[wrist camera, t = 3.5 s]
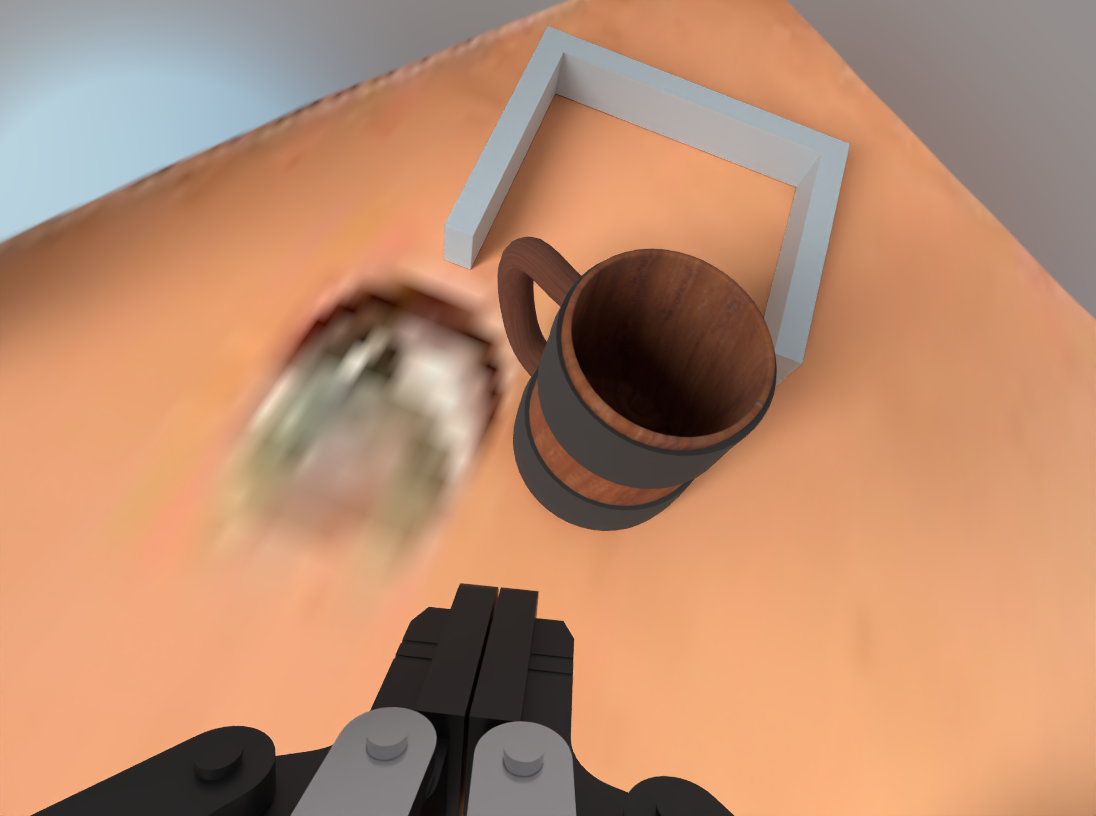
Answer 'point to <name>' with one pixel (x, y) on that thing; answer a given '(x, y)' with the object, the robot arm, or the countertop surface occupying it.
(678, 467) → the mug
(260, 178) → the countertop surface
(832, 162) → the dock bay
